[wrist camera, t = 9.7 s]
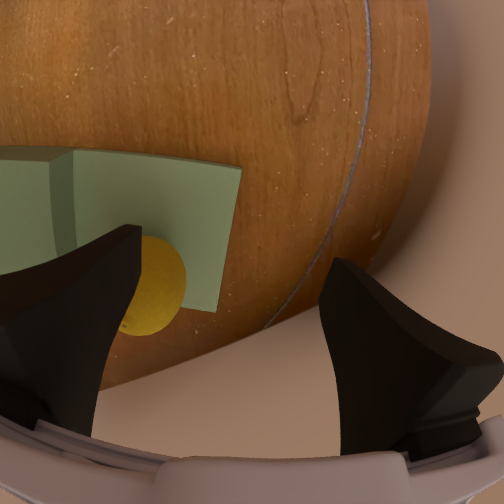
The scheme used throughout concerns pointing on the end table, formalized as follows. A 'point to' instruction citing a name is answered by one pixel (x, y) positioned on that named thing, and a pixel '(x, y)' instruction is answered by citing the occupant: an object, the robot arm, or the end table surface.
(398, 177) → the end table surface
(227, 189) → the step shelf
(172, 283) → the lemon
